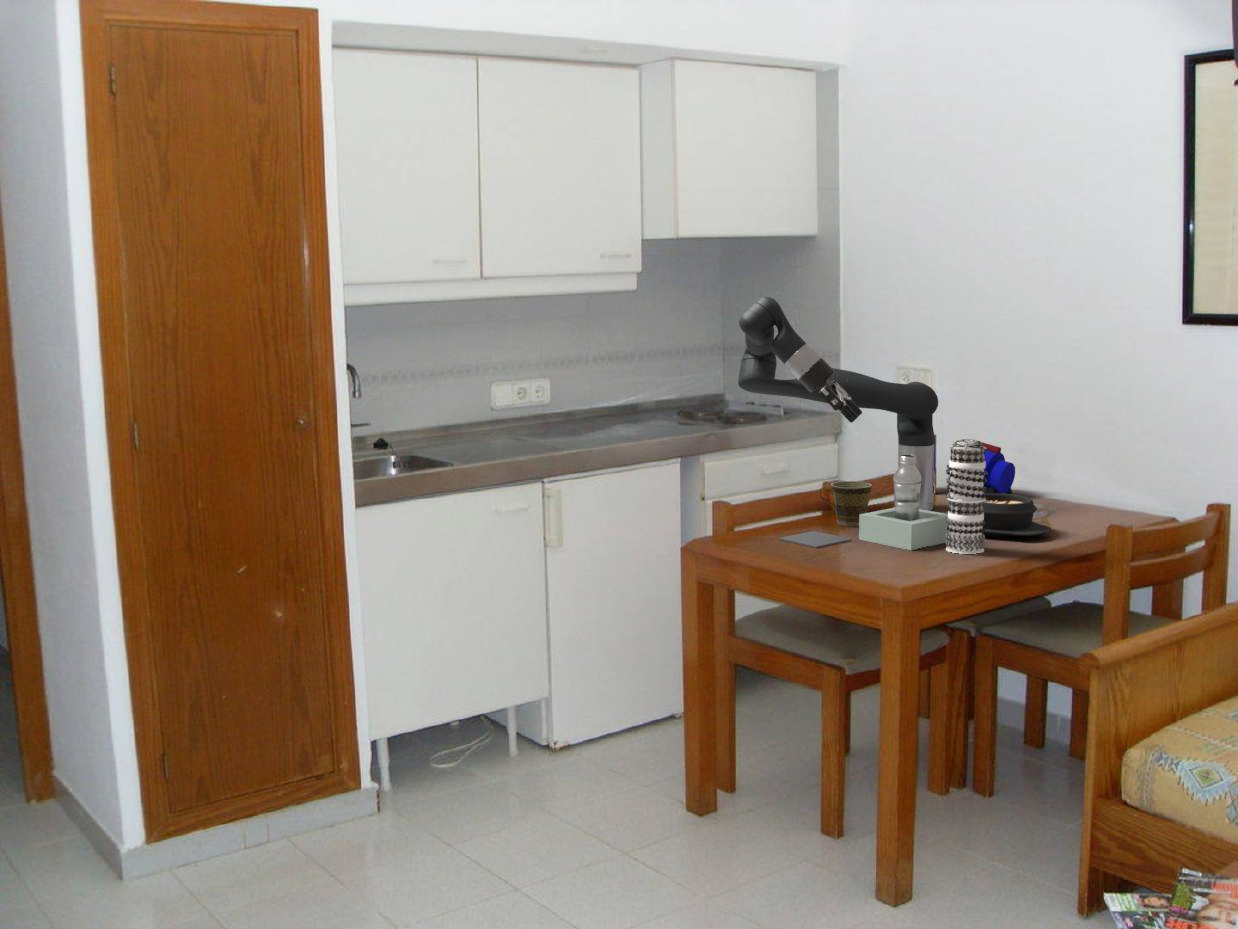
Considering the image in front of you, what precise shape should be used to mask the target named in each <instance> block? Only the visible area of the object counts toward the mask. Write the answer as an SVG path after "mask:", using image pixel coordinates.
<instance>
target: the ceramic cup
mask: <svg viewBox="0 0 1238 929" xmlns="http://www.w3.org/2000/svg"><path fill="white" fill-rule="evenodd" d="M830 486H831V488H830V487H828V486H823V487H821V488H819V490H818V495H819V497H820V498H821V499H822V500H823V501H824V502H826V503H827V504H828V506H830V507H831V508H832V509H833V511H835V514H836V515H835V516H836V521H837V526H841V527H846V528H847V527H849V528H850V527H853V528H855V527H856V528H857V527H858V528H859V514H864V513H868V507H869V503H870V502H869V501H870V498H871V495H872V488H873V485H872V484H871V483H869V482H863V481H855V480H854V481H849V480H848V481H847V480H845V481H837V482H836V481H835V482H833V483H831V484H830ZM823 490H826V491H828V492H829V493H830V495H831V497H832V498H833V504H832V503H831V502H829V500H827V499H826V498H825V497H823V496H822V494H821V492H822V491H823Z"/></svg>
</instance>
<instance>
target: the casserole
mask: <svg viewBox="0 0 1238 929" xmlns="http://www.w3.org/2000/svg"><path fill="white" fill-rule="evenodd" d="M984 494H985V495H987V497H986V501H984V503H983V512H984V520H985V525H983V527H984V528H985V531H984V532H982V533H983V534H984V535H986V536H987V537H994V538H1012V537H1019V536H1020V537H1022V536H1024V537H1029V536H1039V535H1044V534H1047V533H1050V532H1051V531H1052V527H1050V526H1047V525H1044V524H1040V523H1038V522H1035V521H1033V517H1034V513H1035V512H1036V511H1037V510H1038V508H1037V506H1036V505H1035V503H1034V500H1033V498H1031V497H1028V496H1024V495H1020V494H1013V493H1012V494H1004V493H984ZM986 536H985V537H986Z"/></svg>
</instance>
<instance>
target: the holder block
mask: <svg viewBox="0 0 1238 929" xmlns="http://www.w3.org/2000/svg"><path fill="white" fill-rule="evenodd" d="M894 516H895V508H894V507H891V508H886V509H880V510H876V511H871V512H867V513H864V514H859V526H858V540H861V541H864V542H870V543H873V544H879V545H884V546H888V547H893V548H898V549H903V550H906V549H907V550H906V551H915V550H919V549H918V548H920V549H923V548H922V547H924V548H927V547H926V546H929V547H932V546H937V545H941V544H946V540H947V538H946V533H948V530H946V526H948V525H949V524H947V523H946V520H947V519H948V513H945V512H938V511H932V510H930V511H928V510H922V509H919V517H920V519H919V520H914V521H906V520H901V519H895V518H894Z"/></svg>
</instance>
